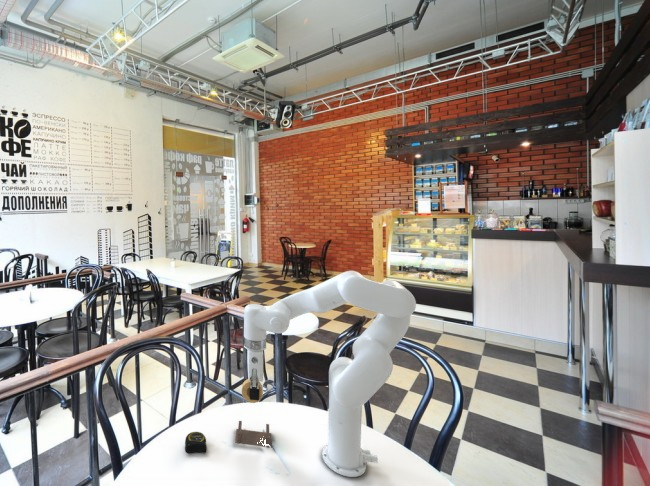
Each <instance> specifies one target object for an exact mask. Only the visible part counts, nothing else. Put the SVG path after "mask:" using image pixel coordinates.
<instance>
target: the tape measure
mask: <svg viewBox="0 0 650 486" xmlns="http://www.w3.org/2000/svg"><path fill="white" fill-rule="evenodd" d="M184 452H185V453H186V454H206V453H207V438H206V435H205V434H204V433H203V432H201V431H191V432H189V433H188V434H187V435H186V436H185V441H184Z"/></svg>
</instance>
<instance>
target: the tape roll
mask: <svg viewBox="0 0 650 486" xmlns="http://www.w3.org/2000/svg"><path fill="white" fill-rule="evenodd" d="M252 382H253V381H252ZM256 383H257V382H256ZM263 395H264V388H263V385H262V382H261V381H259V400H250V381H249V379H248V378H247V379H245V380H244V381H243V382H242V385H241V396H242V398H243V399H244V400H245V401H246V402H248V403H251V404H255V403H258V402H260V401H261V399H262V398H263Z"/></svg>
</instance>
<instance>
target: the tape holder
mask: <svg viewBox="0 0 650 486" xmlns="http://www.w3.org/2000/svg"><path fill="white" fill-rule="evenodd" d="M242 423H243V421H242V420H238V427H237V428H236V431H235V439H234V444H240V445H246V446H247V445H248V446H254V447H255V446H256V447H264V448H266V447H265V445H264V446H263V445H262V443H263V444H264V440H265V439H266V444H269V445H270V446H271V448H273V443H272V442H273V441H272V433H271V432H270V424H269V423H266V424H265V425H266V426H265V431H259V430H257V431H256V430H249V429H243V424H242ZM263 436H264V437H263ZM260 438H261V439H260ZM262 438H263V441H261V442H262V443H261V442H260V440H262ZM257 442H258V444H257ZM259 442H260V443H259Z"/></svg>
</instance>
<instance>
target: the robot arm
mask: <svg viewBox="0 0 650 486" xmlns="http://www.w3.org/2000/svg"><path fill="white" fill-rule="evenodd" d="M347 303H348V304H349V305H352V306H354V307H357V308H359V309H362V310H363V309H364V310H367V311H370V312H374V313H377V315H376V317H375V318H374V319H373V321H372V322H371V323H370V324H369V325H368V326H367V328H366V329H365V330H364V331H363V332H362V333H361V334H360V335H359V336H358V337H356V339H355V340H354V342H353V343H352V348H351V349H352V355H353V358H350V357H347V356H340V357H337V358H335V359H333V360H332V362H331V363H330V365H329V369H328V417H327V418H328V420H327V445H325V446H324V447H323V448H322V453H321V457H322V460H323V462H324V463H325V465H326V466H327V467H328V468H329V469H330V470H331V471H333V472H335V473H337V474H338V475H341V476H344V477H348V478H357V477H360V476H362V475H363V474H364V473H365V472H366V470H367V463H368V462H369V463H373V464H378V463H379V460H378V456H377V455H376V454H371V450H370V449H364V448H363V449H362V416H363V405H365V404H366V403H367V402H368V401H370V399H371V398H372V397H373V396H374V395H375V394H376V393H377V392H378V391H379V390H380V389H381V387H383V386H384V385H385V383H387V381H388V380H389V378H390V377H391V375H392V373H393V368H394V362H393V359H392V357H391V352H392V351H394V349H395V348H396V347H397V345H399V343H400V342H401V341H402V339H403V338H404V336H405V335H406V334H407V332H408V330H409V327H410V324H411V316H412V314H414V312H415V310H416V309H417V300H416V298H415V296H414V295H413V294H412V292H411V291H410V290H409V289H407V288H406V287H405V286H404V285H402V283H400V282H398V281H397V280H392V279H385V280H383V281H381V282H379V281H375V280H372V279H369V278H366V277H365V276H363V275H362V273H360V272H358V271H356V270H346V271H344V272H341V273H339V274H336V275H335V276H333V277H331V278H329V279H327V280H324V281H323V282H320V283H319V284H316V285H313V286H311V287H310V288H307V289H304V290H300V291H297V292H295V293H292V294H290V295H288V296H285V297H284V298H282V299H279V300H278V301H276V302H274V303H273V304H271V306H270V307H269V309H267V308H266V307H265V306H264V305H262V304H259V303H251V304H247V305H246V306H244V309H243V347H244V349H246V350H247V351H246V352H247V353H246V361H247V363H246V364H247V379H249V381H250V400H259V382H260V383H262V382H263V381H264V351H265V350H266V349H267V332H269V333H273V334H283V333H285V332H286V331H287V330H288V329H289V327H290V322H291V320H293V319H295V318H297V317H299V316H302V315H305V314H308V313H309V314H310V313H317V314H325V313H328V312H330V311H332V310H335V309H336V308H339V307H341V306H343V305H345V304H347ZM252 381H253V382H252ZM256 382H257V383H256Z"/></svg>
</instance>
